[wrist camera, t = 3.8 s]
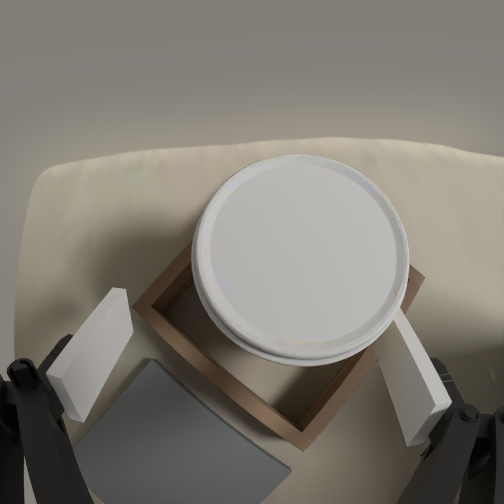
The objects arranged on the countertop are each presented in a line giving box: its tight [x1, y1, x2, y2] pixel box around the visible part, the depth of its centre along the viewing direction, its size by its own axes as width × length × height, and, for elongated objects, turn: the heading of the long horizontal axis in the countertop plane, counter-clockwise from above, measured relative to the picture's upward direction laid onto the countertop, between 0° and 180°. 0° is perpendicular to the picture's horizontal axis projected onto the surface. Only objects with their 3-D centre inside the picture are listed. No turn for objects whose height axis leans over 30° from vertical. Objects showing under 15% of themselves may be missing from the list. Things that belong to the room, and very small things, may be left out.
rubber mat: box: [73, 359, 292, 504], centre depth 18 cm, size 13×13×1 cm
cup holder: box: [132, 241, 425, 452], centre depth 22 cm, size 15×15×3 cm
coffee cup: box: [191, 154, 409, 366], centre depth 18 cm, size 9×9×12 cm
